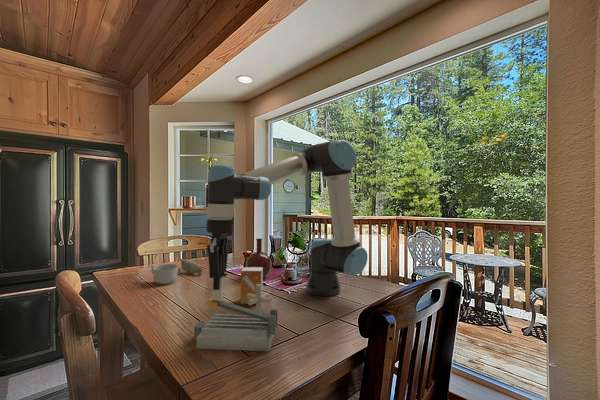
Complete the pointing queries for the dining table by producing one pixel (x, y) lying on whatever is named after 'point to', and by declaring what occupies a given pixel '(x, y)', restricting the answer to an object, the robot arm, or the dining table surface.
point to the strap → (237, 309)
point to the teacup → (164, 273)
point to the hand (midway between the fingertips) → (217, 299)
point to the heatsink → (236, 332)
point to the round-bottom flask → (260, 259)
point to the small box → (250, 282)
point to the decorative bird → (190, 267)
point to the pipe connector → (258, 298)
